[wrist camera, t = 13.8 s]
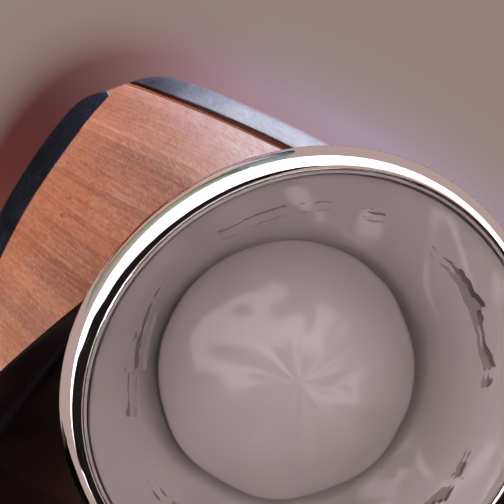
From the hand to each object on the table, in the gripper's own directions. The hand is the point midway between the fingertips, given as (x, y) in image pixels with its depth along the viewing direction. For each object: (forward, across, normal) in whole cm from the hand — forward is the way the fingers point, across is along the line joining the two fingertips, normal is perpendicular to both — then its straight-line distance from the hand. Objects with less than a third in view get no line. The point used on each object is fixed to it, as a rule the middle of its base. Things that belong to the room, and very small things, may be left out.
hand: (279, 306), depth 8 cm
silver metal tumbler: (+6, 0, +9) cm, 10 cm away
